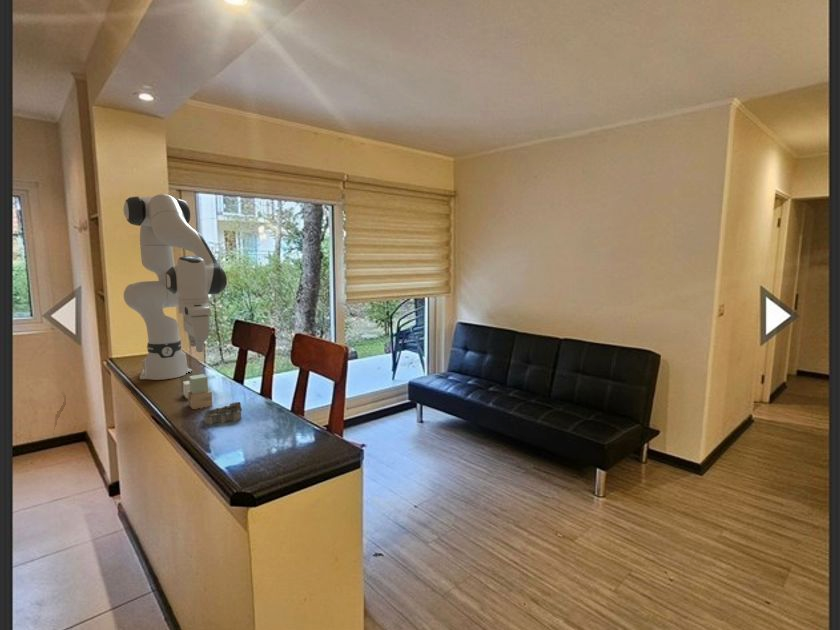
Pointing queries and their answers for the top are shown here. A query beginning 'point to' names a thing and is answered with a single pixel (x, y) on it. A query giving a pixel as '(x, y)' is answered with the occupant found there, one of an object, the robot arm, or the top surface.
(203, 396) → the oak block
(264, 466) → the top surface
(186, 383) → the cream cube
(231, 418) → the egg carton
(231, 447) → the top surface
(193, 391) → the green cube
